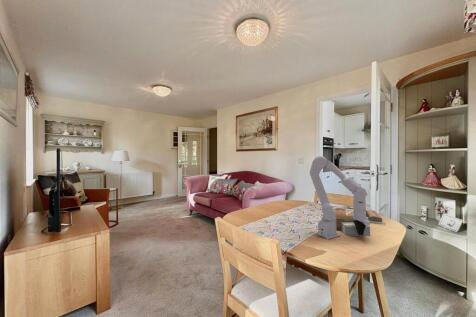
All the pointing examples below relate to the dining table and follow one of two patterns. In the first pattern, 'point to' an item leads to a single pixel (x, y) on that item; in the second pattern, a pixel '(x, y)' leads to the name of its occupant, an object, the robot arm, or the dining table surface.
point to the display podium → (342, 220)
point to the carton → (353, 229)
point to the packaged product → (374, 217)
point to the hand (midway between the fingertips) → (360, 234)
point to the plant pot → (340, 212)
